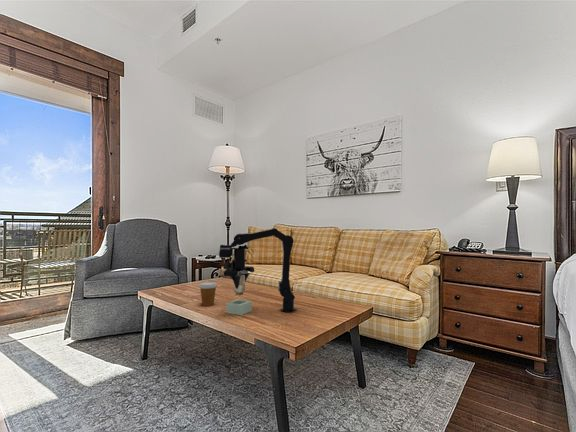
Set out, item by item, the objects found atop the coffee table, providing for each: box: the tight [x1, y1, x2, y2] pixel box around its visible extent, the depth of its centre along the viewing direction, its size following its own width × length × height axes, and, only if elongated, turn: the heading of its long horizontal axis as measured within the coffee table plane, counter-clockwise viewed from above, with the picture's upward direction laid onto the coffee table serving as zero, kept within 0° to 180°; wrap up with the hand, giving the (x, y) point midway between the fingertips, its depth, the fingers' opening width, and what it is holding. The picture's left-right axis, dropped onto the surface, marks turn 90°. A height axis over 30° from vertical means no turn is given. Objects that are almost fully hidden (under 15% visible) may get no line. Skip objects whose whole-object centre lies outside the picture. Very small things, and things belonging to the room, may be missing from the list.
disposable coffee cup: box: [199, 281, 218, 307], centre depth 173 cm, size 10×10×12 cm
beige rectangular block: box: [233, 274, 246, 296], centre depth 160 cm, size 4×4×10 cm
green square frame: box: [226, 298, 253, 316], centre depth 159 cm, size 9×9×5 cm
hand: (239, 287), depth 160 cm, fingers closed on beige rectangular block, 4 cm apart
